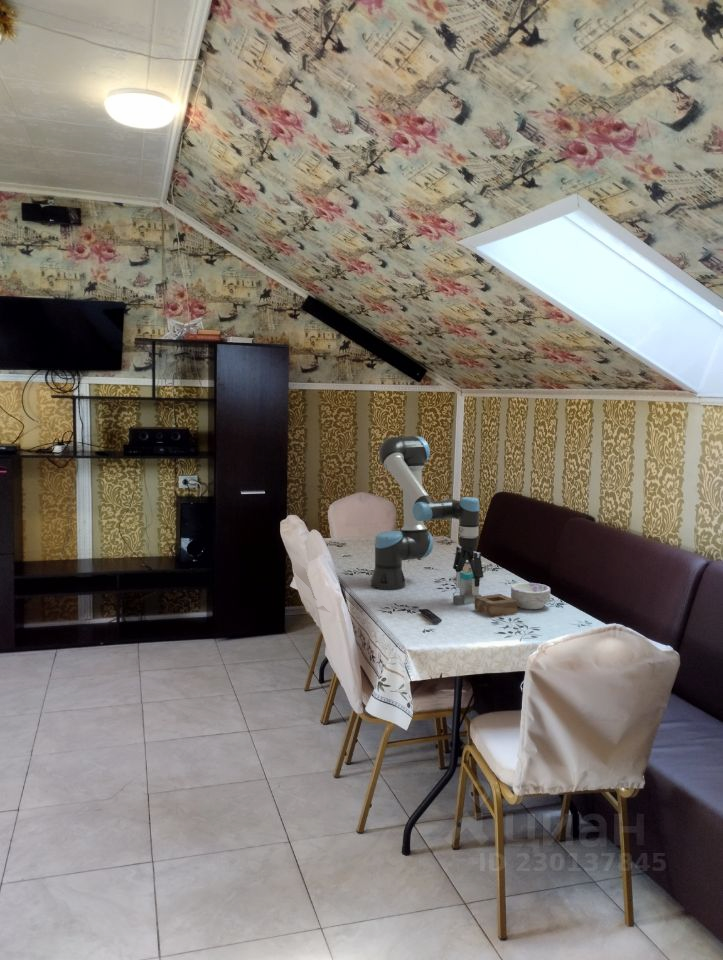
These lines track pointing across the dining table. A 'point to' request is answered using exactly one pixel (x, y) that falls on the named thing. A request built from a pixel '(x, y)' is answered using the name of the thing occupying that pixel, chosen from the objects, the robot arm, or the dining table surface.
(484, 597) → the port
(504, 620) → the dining table surface
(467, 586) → the plug
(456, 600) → the pair of grey prisms
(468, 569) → the teacup with lid
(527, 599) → the white floral bowl
